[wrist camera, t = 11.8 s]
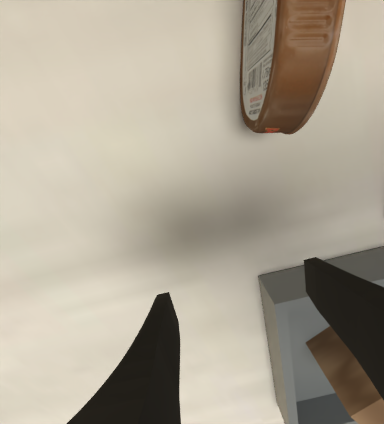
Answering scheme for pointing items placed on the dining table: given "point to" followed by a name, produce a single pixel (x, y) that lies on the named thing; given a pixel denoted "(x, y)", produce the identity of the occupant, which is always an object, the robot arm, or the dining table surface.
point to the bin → (302, 332)
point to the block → (347, 378)
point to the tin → (286, 60)
